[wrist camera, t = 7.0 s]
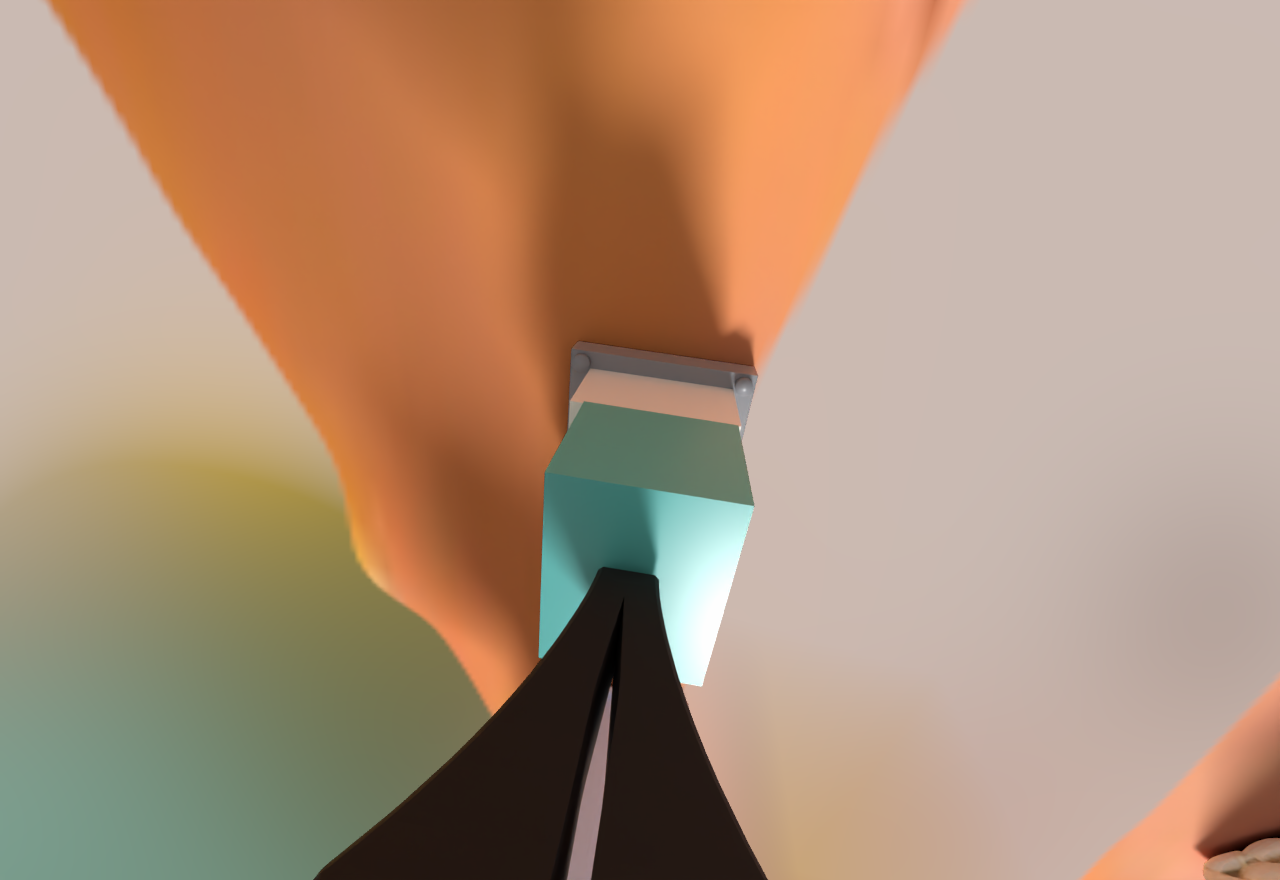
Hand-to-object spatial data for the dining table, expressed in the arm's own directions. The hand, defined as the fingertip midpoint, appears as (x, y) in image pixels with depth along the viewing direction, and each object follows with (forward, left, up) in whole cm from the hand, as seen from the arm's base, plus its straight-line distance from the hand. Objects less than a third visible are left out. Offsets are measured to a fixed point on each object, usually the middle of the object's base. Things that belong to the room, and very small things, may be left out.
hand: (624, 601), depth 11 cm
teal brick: (0, 0, -4) cm, 4 cm away
